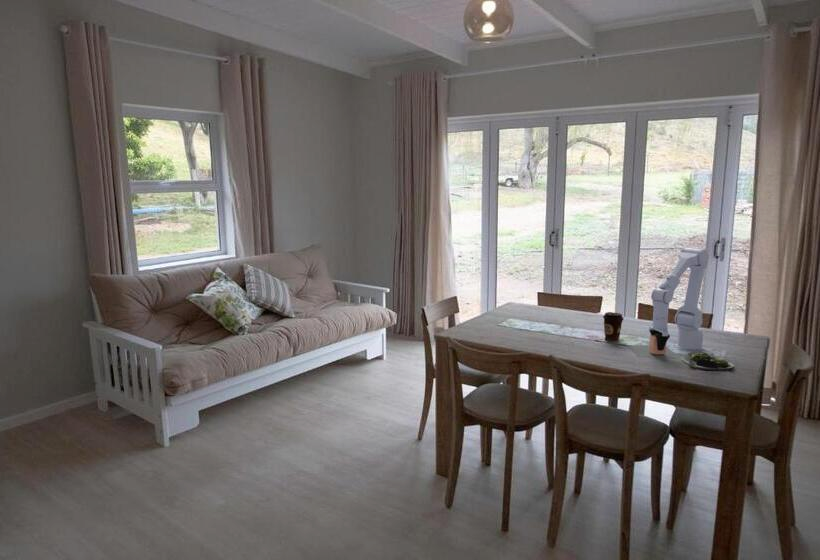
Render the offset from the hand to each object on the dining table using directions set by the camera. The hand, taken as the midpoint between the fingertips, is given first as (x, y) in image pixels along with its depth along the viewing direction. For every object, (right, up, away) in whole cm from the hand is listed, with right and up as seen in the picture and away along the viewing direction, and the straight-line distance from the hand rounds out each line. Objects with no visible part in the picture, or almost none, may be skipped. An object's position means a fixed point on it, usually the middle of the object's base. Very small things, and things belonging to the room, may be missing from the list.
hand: (658, 348), depth 234 cm
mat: (-1, -2, +5) cm, 5 cm away
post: (0, -3, 0) cm, 3 cm away
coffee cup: (-12, 0, +22) cm, 25 cm away
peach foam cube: (0, -2, 0) cm, 2 cm away
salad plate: (+14, -6, -13) cm, 20 cm away
